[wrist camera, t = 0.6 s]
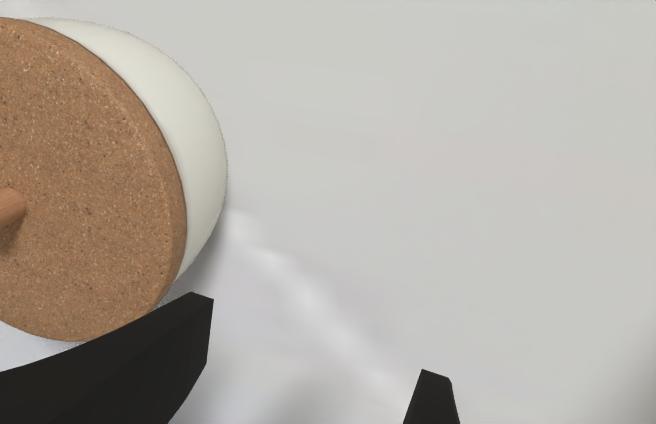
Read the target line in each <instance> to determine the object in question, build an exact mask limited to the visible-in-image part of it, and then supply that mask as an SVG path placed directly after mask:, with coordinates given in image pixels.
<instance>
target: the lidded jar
mask: <svg viewBox="0 0 656 424" xmlns="http://www.w3.org/2000/svg"><path fill="white" fill-rule="evenodd" d="M227 178H228V160H227V153H226V146H225V141H224V137H223V134H222V131H221V127H220V124H219V122H218V119H217V117H216V115H215V113H214V110H213V108H212V106H211V104H210V103H209V101H208V99H207V98H206V96H205V94H204V93H203V91H202V90H201V88H200V87H199V86H198V84H197V83H196V82H195V81H194V79H193V78H192V77H191V76H190V75H189V73H188V72H187V71H186V70H185V69H184V68H183V67H181V66H180V65H179V64H178V63H177V62H176V61H175V60H174V59H173V58H172V57H170V56H169V55H167V54H166V53H164V52H163V51H162V50H160V49H159V48H157V47H156V46H154V45H152V44H150V43H149V42H147V41H145V40H143V39H141V38H139V37H137V36H135V35H133V34H131V33H129V32H126V31H123V30H120V29H116V28H113V27H110V26H106V25H102V24H98V23H94V22H88V21H81V20H73V19H63V18H52V17H47V18H23V19H13V18H5V17H0V320H1V321H3V322H5V323H6V324H8V325H10V326H12V327H15V328H17V329H20V330H22V331H24V332H27V333H29V334H32V335H36V336H40V337H44V338H47V339H52V340H59V341H66V342H80V341H91V340H93V339H95V338H98V337H100V336H102V335H104V334H107V333H109V332H111V331H114V330H116V329H118V328H120V327H122V326H124V325H126V324H128V323H130V322H132V321H134V320H136V319H138V318H140V317H142V316H144V315H146V314H148V313H150V312H151V311H152V310H153V309H154V307H155V306H156V305H157V304H158V303H159V302H160V301H161V300H162V298H163V297H164V296H165V295H166V294H167V293H168V291H169V289H170V287H171V286H172V285H173V284H174V283H175V282H176V280H177V279H178V278H179V277H180V276H181V275H182V274H183V273H184V272H185V270H186V269H187V268H188V267H189V266H190V265H191V264H192V263H193V261H194V260H195V259H196V257H197V256H198V254H199V253H200V251H201V250H202V248H203V247H204V245H205V243H206V242H207V240H208V238H209V237H210V235H211V233H212V231H213V229H214V227H215V225H216V223H217V221H218V218H219V215H220V212H221V209H222V207H223V203H224V197H225V191H226V185H227Z"/></svg>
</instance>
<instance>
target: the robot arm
mask: <svg viewBox="0 0 656 424" xmlns="http://www.w3.org/2000/svg"><path fill="white" fill-rule="evenodd" d="M213 302H214V299H211V298H208V297H205V296H202V295H199V294H196V293H193V292H189V293H187V294H185V295H183V296H181V297H179V298H177V299H175V300H173V301H172V302H170V303H168V304H166V305H164V306H162V307H160V308H158V309H156V310H154V311H152V312H150V313H148V314H146V315H144V316H142V317H140V318H138V319H136V320H134V321H132V322H130V323H128V324H126V325H124V326H122V327H120V328H118V329H116V330H114V331H111V332H109V333H107V334H104V335H102V336H100V337H98V338H95V339H93V340H91V341H88V342H86V343H84V344H82V345H79V346H77V347H74V348H72V349H69V350H67V351H64V352H61V353H59V354H56V355H53V356H50V357H47V358H44V359H42V360H39V361H36V362H33V363H30V364H27V365H23V366H20V367H16V368H13V369H9V370H6V371H2V372H0V424H168V422H169V421H170V420H171V418H172V417H173V416H174V414H175V413H176V412H177V410H178V409H179V408H180V406H181V405H182V404H183V402H184V401H185V400H186V398H187V396H188V395H189V393H190V391H191V390H192V388H193V386H194V385H195V383H196V381H197V379H198V378H199V376H200V374H201V372H202V370H203V369H204V367H205V365H206V362H207V353H208V345H209V336H210V327H211V319H212V310H213ZM403 424H460V421H459V417H458V413H457V409H456V405H455V400H454V395H453V390H452V383H451V381H450V380H449V378H448V377H445V376H442V375H439V374H436V373H433V372H430V371H427V370H424V369H422V370H421V373H420V376H419V379H418V381H417V384H416V387H415V390H414V393H413V396H412V399H411V402H410V404H409V407H408V410H407V413H406V416H405V419H404V422H403Z"/></svg>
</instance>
